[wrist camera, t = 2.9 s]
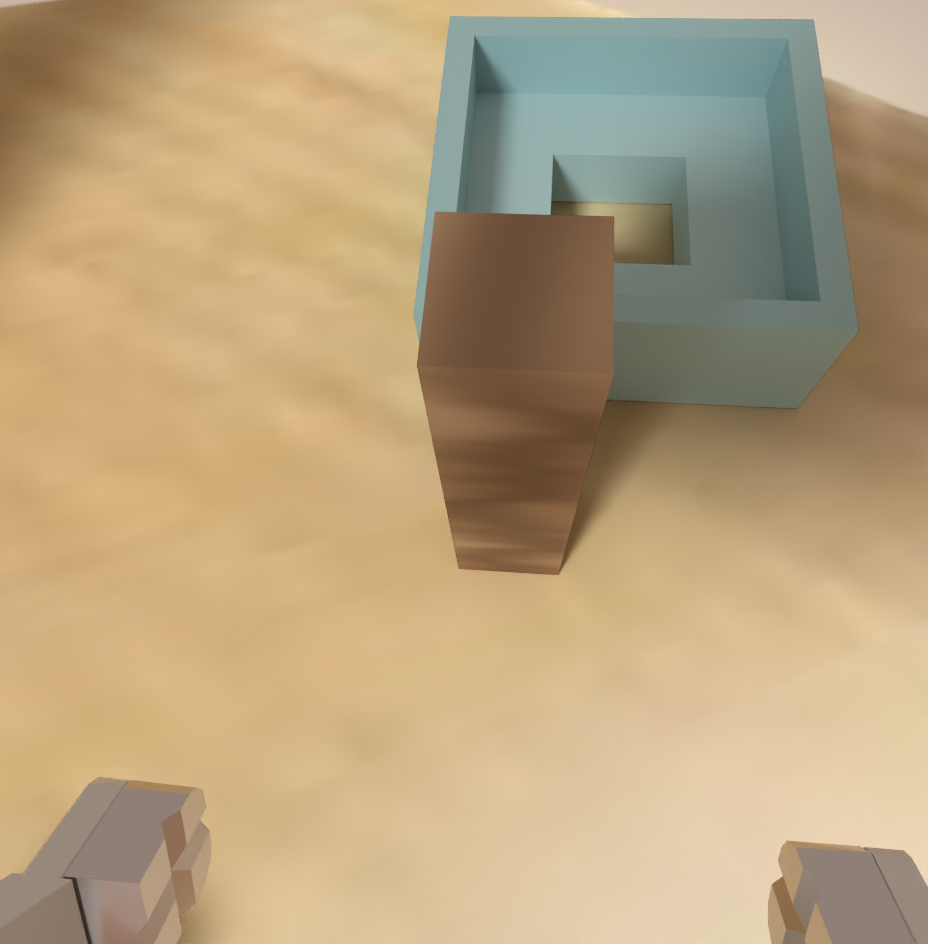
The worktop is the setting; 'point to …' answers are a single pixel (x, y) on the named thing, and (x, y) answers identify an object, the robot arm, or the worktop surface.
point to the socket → (666, 185)
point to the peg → (516, 377)
